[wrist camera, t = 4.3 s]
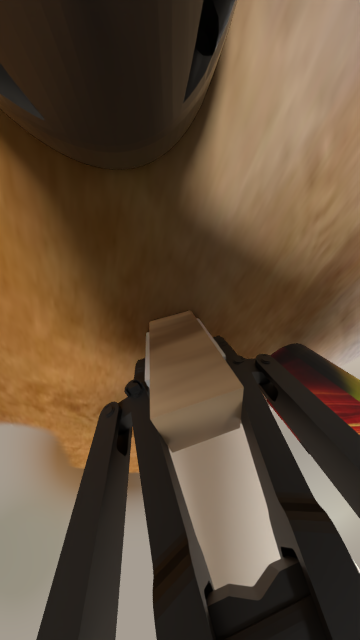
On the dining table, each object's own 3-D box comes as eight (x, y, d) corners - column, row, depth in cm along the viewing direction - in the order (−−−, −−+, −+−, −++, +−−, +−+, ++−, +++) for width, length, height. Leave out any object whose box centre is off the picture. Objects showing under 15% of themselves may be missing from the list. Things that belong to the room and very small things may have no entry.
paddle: (149, 321, 15) (150, 419, 6) (190, 310, 15) (243, 387, 7) (185, 420, 28) (202, 498, 19) (208, 412, 28) (234, 485, 19)
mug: (262, 396, 30) (323, 474, 19) (258, 358, 23) (349, 449, 12) (301, 378, 30) (383, 447, 19) (308, 334, 23) (444, 407, 12)
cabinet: (154, 419, 25) (166, 804, 8) (241, 389, 26) (415, 654, 9) (172, 447, 33) (198, 670, 15) (238, 423, 34) (330, 601, 17)
